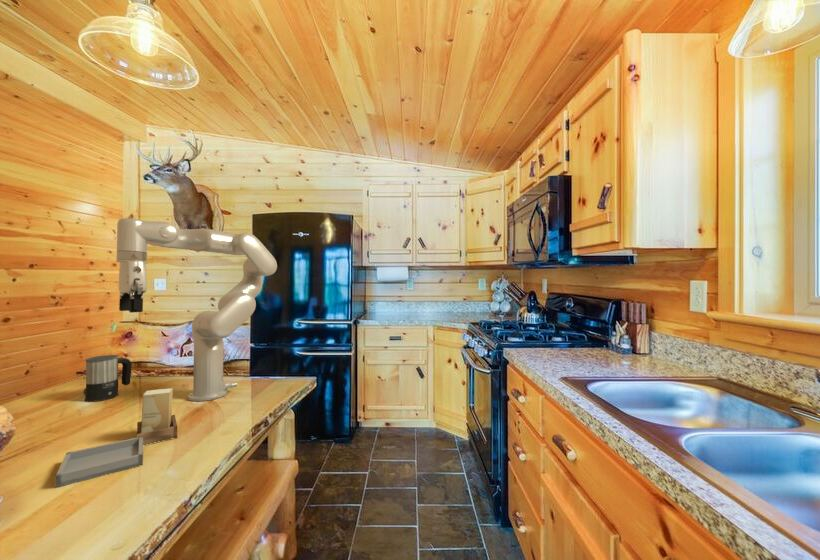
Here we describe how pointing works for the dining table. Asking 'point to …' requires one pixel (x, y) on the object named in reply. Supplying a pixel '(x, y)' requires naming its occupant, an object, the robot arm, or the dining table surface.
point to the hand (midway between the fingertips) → (130, 311)
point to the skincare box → (156, 410)
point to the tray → (100, 461)
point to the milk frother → (105, 377)
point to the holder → (158, 433)
